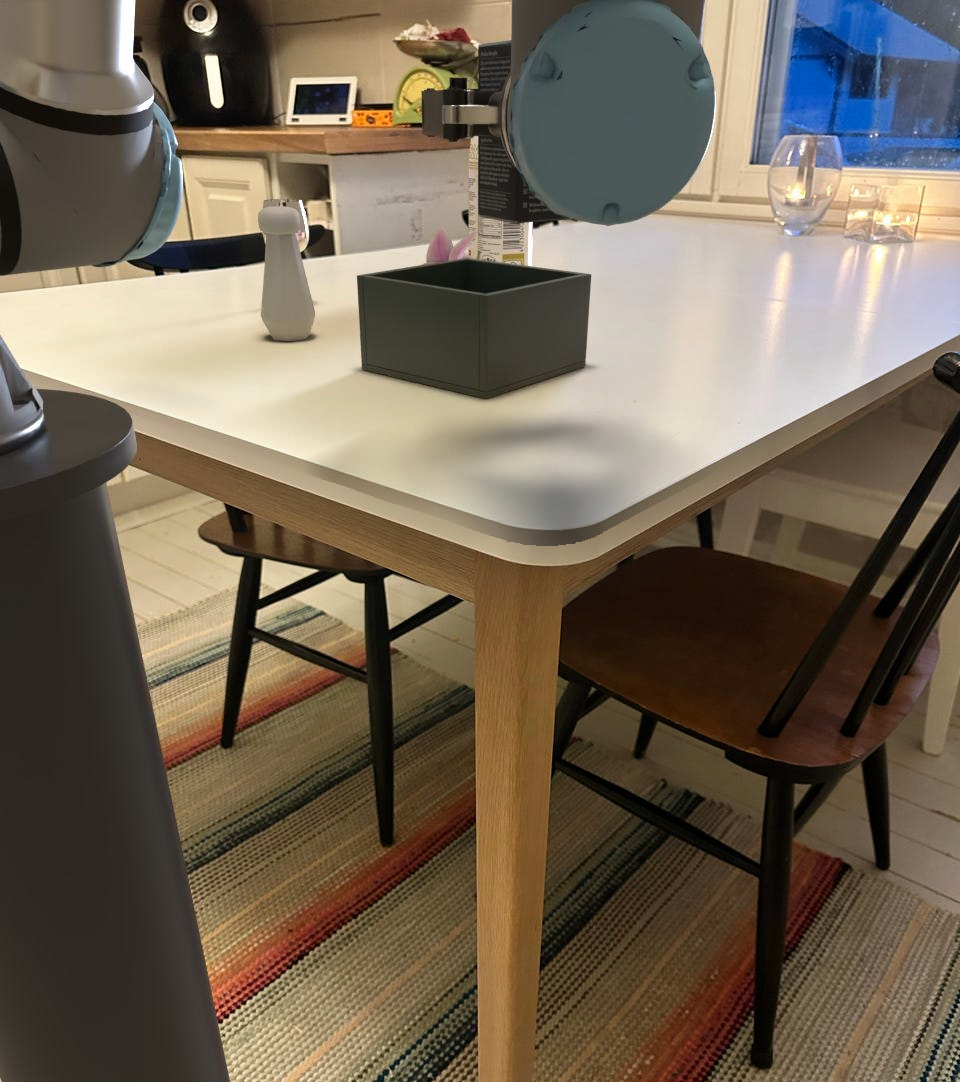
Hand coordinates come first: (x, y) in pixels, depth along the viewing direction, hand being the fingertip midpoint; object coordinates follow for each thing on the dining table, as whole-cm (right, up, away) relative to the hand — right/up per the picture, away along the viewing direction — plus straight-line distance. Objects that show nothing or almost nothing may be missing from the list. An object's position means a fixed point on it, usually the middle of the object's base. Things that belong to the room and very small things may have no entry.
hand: (541, 112), depth 66 cm
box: (0, -8, 0) cm, 8 cm away
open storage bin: (-5, -11, +24) cm, 27 cm away
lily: (-9, +3, +49) cm, 50 cm away
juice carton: (-2, +13, +65) cm, 67 cm away
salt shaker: (-25, -5, +35) cm, 44 cm away
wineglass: (-29, +5, +52) cm, 60 cm away
